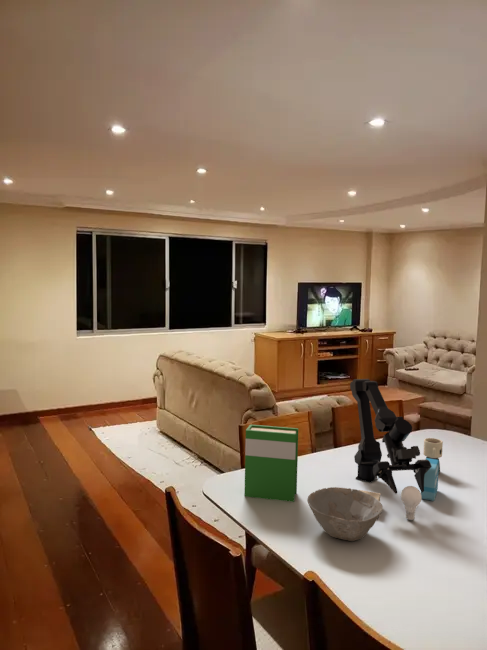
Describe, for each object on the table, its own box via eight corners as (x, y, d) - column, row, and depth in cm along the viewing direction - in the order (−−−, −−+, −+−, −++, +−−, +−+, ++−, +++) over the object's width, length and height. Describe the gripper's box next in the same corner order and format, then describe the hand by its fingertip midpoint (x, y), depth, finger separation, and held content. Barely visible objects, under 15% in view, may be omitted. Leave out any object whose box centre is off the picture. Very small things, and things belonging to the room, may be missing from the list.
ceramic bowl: (337, 561, 141) (339, 526, 140) (292, 525, 161) (293, 494, 160) (398, 543, 151) (399, 510, 150) (348, 511, 171) (349, 482, 171)
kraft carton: (355, 511, 172) (355, 498, 171) (358, 502, 178) (359, 489, 178) (377, 515, 169) (378, 501, 169) (379, 506, 176) (380, 493, 175)
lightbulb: (396, 515, 169) (398, 483, 168) (415, 515, 170) (417, 482, 169) (404, 524, 163) (406, 491, 162) (423, 524, 163) (425, 490, 162)
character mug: (442, 477, 203) (444, 445, 202) (423, 475, 205) (425, 443, 203) (439, 468, 213) (441, 437, 212) (421, 466, 215) (422, 435, 214)
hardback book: (296, 493, 185) (298, 428, 183) (294, 501, 178) (295, 434, 176) (248, 488, 189) (250, 424, 187) (244, 496, 182) (245, 430, 180)
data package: (433, 502, 180) (435, 469, 179) (420, 499, 182) (421, 466, 181) (437, 490, 190) (439, 458, 189) (424, 487, 192) (426, 456, 191)
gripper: (377, 438, 169) (391, 483, 159) (430, 436, 172) (446, 480, 162) (367, 453, 177) (379, 497, 167) (417, 451, 180) (432, 494, 170)
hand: (409, 492), depth 166 cm, fingers open, 9 cm apart
